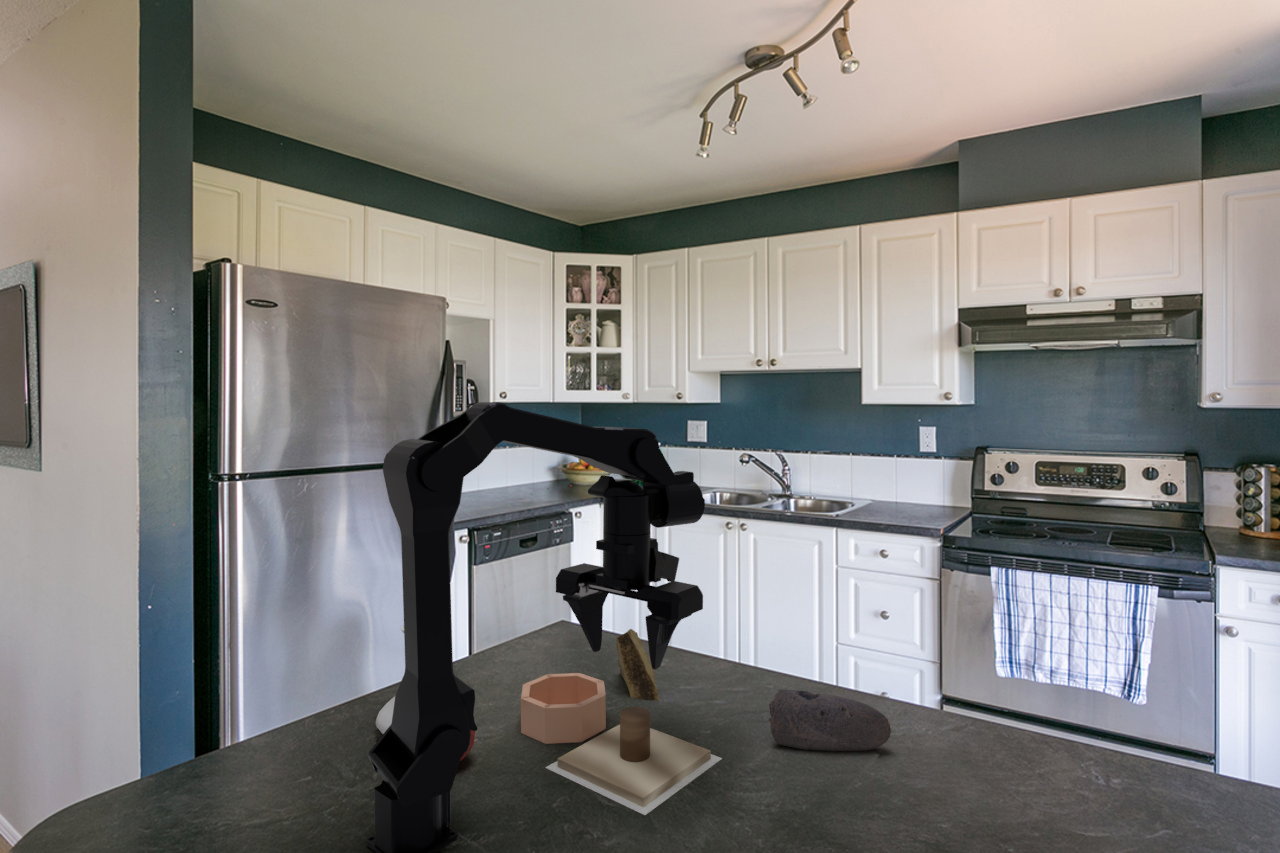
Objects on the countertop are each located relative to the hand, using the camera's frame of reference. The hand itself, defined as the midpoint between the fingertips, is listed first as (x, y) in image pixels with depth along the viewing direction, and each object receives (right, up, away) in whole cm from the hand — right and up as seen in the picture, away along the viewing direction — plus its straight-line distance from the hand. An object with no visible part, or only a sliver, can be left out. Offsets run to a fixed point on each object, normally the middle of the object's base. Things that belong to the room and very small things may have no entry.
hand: (625, 659), depth 86 cm
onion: (-21, -13, -2) cm, 24 cm away
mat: (+1, -12, -1) cm, 13 cm away
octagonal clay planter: (-8, -12, +9) cm, 17 cm away
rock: (+2, -12, +21) cm, 24 cm away
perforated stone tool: (+26, -13, +3) cm, 29 cm away
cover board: (+1, -12, -1) cm, 12 cm away
